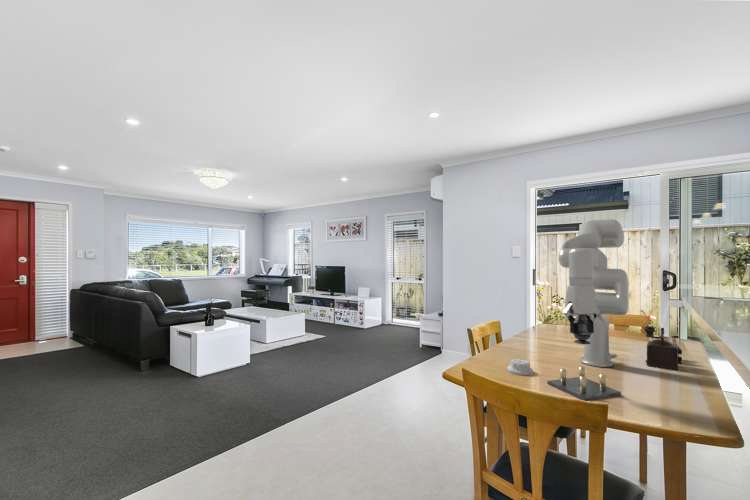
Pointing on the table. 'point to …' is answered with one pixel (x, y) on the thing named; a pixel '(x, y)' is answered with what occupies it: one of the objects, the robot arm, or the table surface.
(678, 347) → the end cap
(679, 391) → the table surface
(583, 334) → the grey chess piece
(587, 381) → the standoff chassis
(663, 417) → the table surface
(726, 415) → the table surface
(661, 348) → the dark boxy piece
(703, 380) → the table surface
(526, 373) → the mechanical component
